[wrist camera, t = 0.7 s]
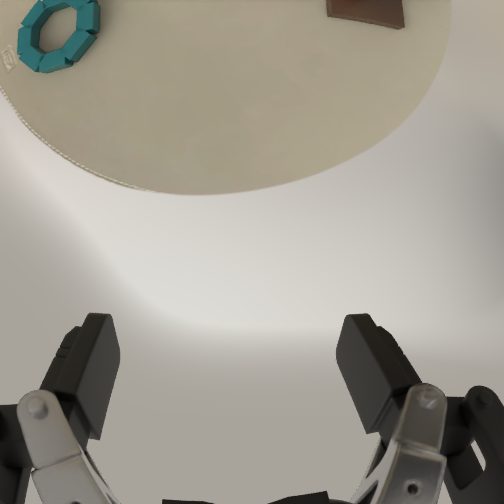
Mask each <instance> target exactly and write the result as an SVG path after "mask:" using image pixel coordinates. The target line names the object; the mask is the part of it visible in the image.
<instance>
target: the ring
mask: <svg viewBox="0 0 504 504" xmlns="http://www.w3.org/2000/svg"><path fill="white" fill-rule="evenodd" d="M97 3H98V2H97V1H96V0H43V2H42V1H40V0H38V1H37V3H36V4H35V5H34V6H33V8H32V9H31V10H30V12H29V13H28V14H27V16H26V17H25V18H24V20H23V21H22V23H21V24H22V25H23V26H24V27H22V28H20V29H19V30H18V45H17V54H18V55H21V56H20V57H19V59H20V60H21V61H22V62H23V63H25V64H26V65H27V66H28V67H30V68H31V69H32V70H33V71H34V72H42V73H50V72H53V71H57V70H60V69H63V68H67V67H70V66H72V61H75V62H78V61H79V59H80V58H81V57H82V55H83V54H84V53H85V52H86V50H87V49H88V48H89V47H90V45H91V44H92V43H93V42H94V40H95V39H96V37H95V36H94V35H92V34H94V33H98V32H99V19H100V6H99V5H97ZM69 6H72V7H73V8H75V9H76V10H77V23H76V31H75V32H74V33H73V34H72V36H71V37H70V38H69V39H68V41H67V42H66V43H65V45H64V46H63V47H62V48H61V49H58V50H55V51H52V52H49V53H45V52H44V51H42V50H41V49H40V48H39V29H40V28H41V27H42V25H43V24H44V23H45V21H46V20H47V19H48V18H49V16H50V15H51V14H52V12H55V11H58V10H60V9H63V8H66V7H69Z"/></svg>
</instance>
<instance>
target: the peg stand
mask: <svg viewBox="0 0 504 504" xmlns="http://www.w3.org/2000/svg"><path fill="white" fill-rule="evenodd" d="M326 1H327V14H328V17H335V18H342V19H349V20H355V21H361V22H366V23H371V24H376V25H381V26H386V27H390V28H394V29H401V28H404V17H403V8H402V0H326Z"/></svg>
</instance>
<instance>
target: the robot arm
mask: <svg viewBox="0 0 504 504" xmlns="http://www.w3.org/2000/svg"><path fill="white" fill-rule="evenodd" d="M336 359H337V364H338V366H339V369H340V371H341V373H342V376H343V378H344V380H345V383H346V385H347V388H348V390H349V392H350V395H351V397H352V399H353V402H354V404H355V407H356V409H357V412H358V414H359V417H360V419H361V421H362V424H363V426H364V429H365V431H366V434H369V433H374V432H379V434H380V436H381V437H380V439H379V440H378V442H377V445H376V448H375V450H374V453H373V455H372V458H371V460H370V463H369V465H368V467H367V470H366V472H365V474H364V477H363V479H362V481H361V483H360V485H359V487H358V489H357V490H356V492H355V493H354V495H353V497H352V498H351V500H350V502H346V501H342V500H334V499H329V498H328V494H327V491H323V492H318V493H312V494H305V495H298V496H291V497H286V498H284V499H281V500H278V501H275V502H272V503H268V504H437V502H438V498H439V494H440V490H441V486H442V482H443V480H444V483H445V485H446V487H447V490H448V493H449V496H450V498H451V501H452V503H453V504H504V406H503V404H502V403H501V401H500V400H499V398H498V396H497V395H496V394H495V393H494V392H493V391H492V390H491V389H489V388H487V387H484V386H474V387H472V388H471V389H470V390H469V391H468V393H467V394H466V396H465V397H446V396H445V394H444V393H443V392H442V391H441V390H440V389H439V388H438V387H436V386H433V385H431V384H428V383H422V381H421V380H420V378H419V376H418V375H417V373H416V372H415V370H414V368H413V367H412V365H411V364H410V362H409V361H408V359H407V357H406V356H405V355H403V351H402V350H401V348H400V347H398V344H397V342H396V341H395V339H394V338H393V336H392V335H391V334H390V333H389V332H388V331H386V330H385V329H384V328H382V327H381V326H376V324H375V323H374V321H373V320H372V318H371V317H370V315H369V314H367V313H365V314H349V315H347V316H346V317H345V319H344V323H343V326H342V330H341V334H340V337H339V341H338V344H337V348H336ZM119 363H120V348H119V344H118V340H117V336H116V332H115V327H114V323H113V319H112V316H111V315H110V314H102V313H89V314H88V315H87V317H86V319H85V321H84V323H83V325H82V327H79V326H75V327H74V328H73V329H72V330H71V331H70V332H69V333H67V335H65V337H64V339H63V341H62V343H61V345H60V348H59V349H58V351H57V353H56V357H54V359H53V361H52V363H51V365H50V367H49V369H48V372H47V373H46V376H45V378H44V380H43V382H42V384H41V386H40V389H39V390H34V391H31V392H29V393H27V394H25V395H24V396H23V397H22V398H21V399H20V401H19V403H18V404H12V405H0V504H24V503H25V497H26V492H27V487H28V482H29V478H30V473H31V475H32V479H33V482H34V484H35V486H36V489H37V492H38V494H39V496H40V499H41V501H42V503H43V504H121V503H120V502H119V501H118V499H117V498H116V497H115V495H114V494H113V492H112V491H111V489H110V487H109V486H108V484H107V483H106V481H105V479H104V478H103V476H102V474H101V473H100V471H99V470H98V468H97V466H96V464H95V462H94V461H93V459H92V457H91V455H90V454H89V452H88V450H87V448H86V446H87V442H88V438H90V439H96V440H100V437H101V433H102V428H103V424H104V420H105V416H106V412H107V408H108V404H109V400H110V397H111V393H112V389H113V386H114V382H115V378H116V375H117V371H118V368H119ZM474 440H475V441H476V442H477V445H478V446H479V448H480V450H481V452H482V454H483V456H484V459H485V461H486V467H485V470H484V471H483V469H482V467H481V465H480V463H479V461H478V459H477V457H476V455H475V453H474V451H473V449H472V446H471V444H472V443H473V441H474ZM32 467H33V468H35V470H34V471H32V472H31V469H32ZM162 504H213V503H208V502H204V501H179V500H165V499H163V500H162Z"/></svg>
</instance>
